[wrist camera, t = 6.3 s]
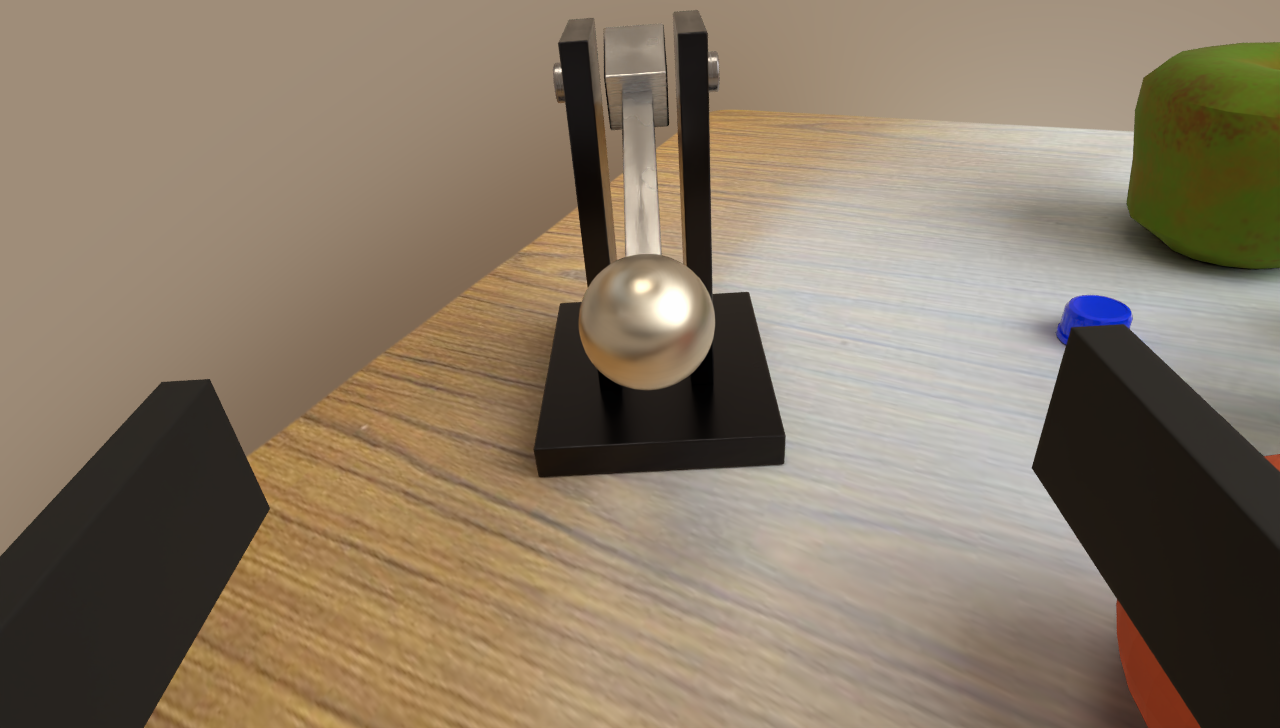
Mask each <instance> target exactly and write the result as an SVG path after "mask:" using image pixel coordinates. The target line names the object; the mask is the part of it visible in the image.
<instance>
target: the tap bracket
mask: <svg viewBox="0 0 1280 728" xmlns="http://www.w3.org/2000/svg"><path fill="white" fill-rule="evenodd" d="M673 26H674V51H675V76H676V99H677V124H678V148H679V172H680V197H681V221H682V245H683V264H684V265H685V266H687V267H688V268H689V269H691V270H692V271H693V272H694V273H695V274H696V275H697V276H698V277H699V278H700V280H701V281H702V283H703V284H704V286H705V287H706V289H707V291H708V293H709V295H710V298H711V301H712V304H713V307H714V313H715V330H714V336H713V340H712V344H711V346H710V349H709V351H708V353H707V355H706V357H705V358H704V360H703V361H702V363H701V364H700V365H699V366H698V368H697V369H696V370H695V371H694V372H693V373H692V374H690V375H689V376H688V377H687V378H685V379H683V380H682V381H680V382H678V383H676V384H674V385H672V386H669V387H666V388H662V389H658V390H636V389H632V388H628V387H625V386H622V385H619V384H617V383H615V382H613V381H611V380H610V379H609V378H607V377H606V376H604V375H603V374H602V373H601V372H600V371H599V370H598V369H597V368H596V367H595V366H594V364H593V363H592V362H591V360H590V359H589V357H588V356H587V354H586V352H585V349H584V347H583V344H582V342H581V338H580V333H579V312H580V306H581V303H582V302H574V303H561V304H560V306H559V312H558V317H557V323H556V328H555V334H554V339H553V345H552V351H551V356H550V362H549V367H548V373H547V378H546V384H545V389H544V395H543V400H542V406H541V412H540V417H539V423H538V428H537V434H536V439H535V445H534V454H535V459H536V465H537V470H538V475H539V477H546V476H565V475H584V474H603V473H622V472H641V471H660V470H679V469H698V468H718V467H737V466H756V465H775V464H784V458H785V437H786V436H785V432H784V428H783V424H782V420H781V416H780V412H779V408H778V404H777V400H776V397H775V393H774V389H773V385H772V381H771V377H770V373H769V369H768V365H767V361H766V357H765V353H764V349H763V345H762V341H761V338H760V334H759V330H758V326H757V322H756V318H755V314H754V310H753V306H752V302H751V298H750V294H749V292H738V293H722V294H712V243H711V188H710V133H709V92H717V91H718V90H719V59H718V53H717V52H716V51H714V52H713V51H712V52H708V33H707V30H706V28H705V26H704V23H703V21H702V18H701V15H700V13H699V11H698V10H694V11H680V12H674V13H673ZM558 46H559V54H560V62H561V63H555V64H554V67H553V76H554V87H555V93H556V99H557V101H558V103H565V104H566V112H567V120H568V128H569V136H570V145H571V153H572V161H573V169H574V178H575V186H576V195H577V203H578V211H579V220H580V228H581V236H582V245H583V253H584V261H585V269H586V278H587V286H588V287H589V285H590V284H591V282H592V281H593V280H594V278H595V277H596V276H597V275H598V274H599V273H600V272H601V271H602V270H603V269H605V268H606V267H607V266H609V265H610V264H612V263H613V262H615V261H617V254H616V243H615V233H614V222H613V212H612V201H611V190H610V180H609V169H608V159H607V148H606V138H605V127H604V116H603V106H602V95H601V85H600V74H599V63H598V53H597V43H596V31H595V21H594V18H586V19H574V20H573V19H572V20H569V21H568V23H567V25H566V27H565V30H564V32H563V34H562V36H561V38H560V41H559V43H558Z"/></svg>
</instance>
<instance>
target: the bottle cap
mask: <svg viewBox="0 0 1280 728" xmlns="http://www.w3.org/2000/svg"><path fill="white" fill-rule="evenodd" d="M1132 319H1133V317H1132V313H1131V310H1130V308H1129V307H1127V306H1126V305H1125V304H1123V303H1122V302H1120V301H1117V300H1115V299H1112V298H1109V297H1104V296H1098V295H1082V296H1077V297H1075V298H1072V299H1071V300H1070V301H1069V302H1068V303H1067V304H1066V305H1065V309H1064V312H1063V315H1062V319H1061V322H1060V323H1059V324H1058V327H1057V331H1056V335H1057V337H1058V339H1059V340H1060V341H1061V342H1063V343H1064V344H1065V345H1066V344H1067V341H1068V337H1069V334H1070V330H1071V327H1083V326H1100V325H1116V324H1124V325H1126V326H1127V327H1128V328H1129V329H1130V326H1131V323H1132Z"/></svg>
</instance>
